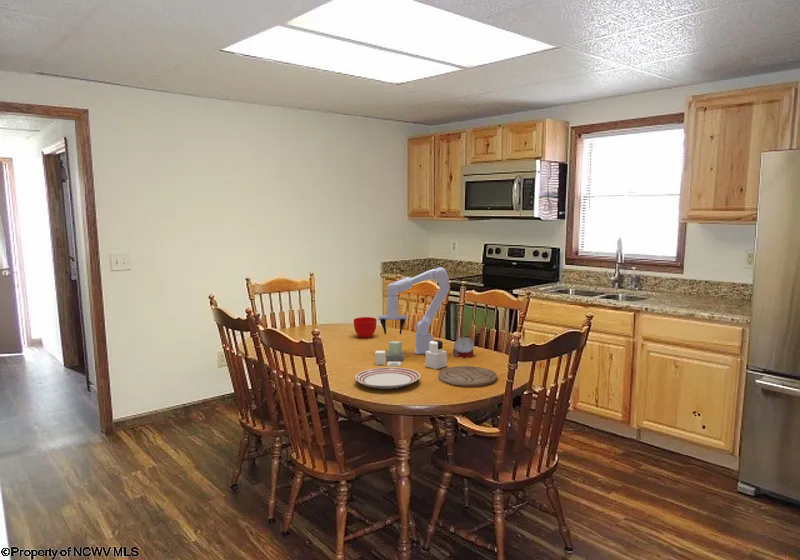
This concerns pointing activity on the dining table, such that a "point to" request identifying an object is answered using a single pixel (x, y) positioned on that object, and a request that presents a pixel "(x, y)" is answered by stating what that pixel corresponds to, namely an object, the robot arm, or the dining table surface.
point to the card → (394, 363)
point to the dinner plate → (387, 377)
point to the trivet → (467, 376)
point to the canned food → (463, 347)
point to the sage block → (395, 347)
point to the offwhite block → (380, 357)
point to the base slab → (394, 357)
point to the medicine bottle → (436, 355)
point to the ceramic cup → (365, 326)
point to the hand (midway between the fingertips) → (392, 333)
